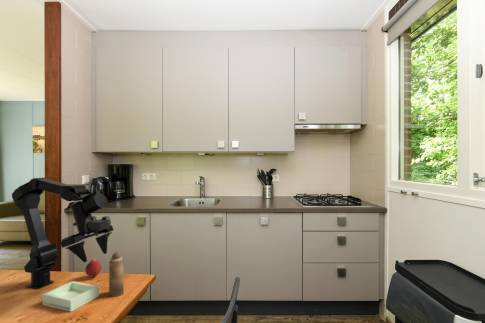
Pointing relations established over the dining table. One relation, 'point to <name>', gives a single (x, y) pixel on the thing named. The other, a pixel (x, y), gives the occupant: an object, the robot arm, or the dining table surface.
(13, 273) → the dining table surface
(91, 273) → the pomegranate
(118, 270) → the pepper mill
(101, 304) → the dining table surface
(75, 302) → the serving tray
